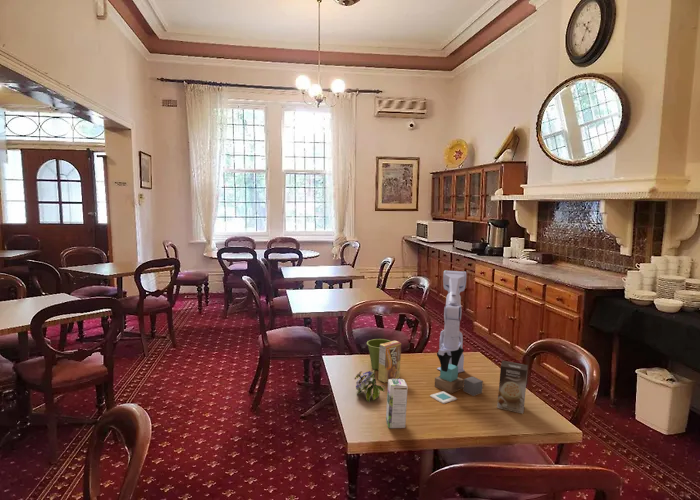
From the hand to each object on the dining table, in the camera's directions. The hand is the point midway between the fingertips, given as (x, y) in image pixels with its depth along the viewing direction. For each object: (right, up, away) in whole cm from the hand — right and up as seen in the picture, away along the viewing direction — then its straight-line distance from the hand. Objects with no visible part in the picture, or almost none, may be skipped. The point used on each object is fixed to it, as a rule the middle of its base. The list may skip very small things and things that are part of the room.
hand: (449, 368), depth 174 cm
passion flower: (-32, -8, -8) cm, 35 cm away
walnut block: (0, -8, +1) cm, 8 cm away
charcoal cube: (+8, -9, -3) cm, 12 cm away
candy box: (-23, -7, +7) cm, 25 cm away
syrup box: (-25, -11, -29) cm, 40 cm away
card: (-4, -9, -9) cm, 13 cm away
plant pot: (-27, -5, +19) cm, 33 cm away
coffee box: (+19, -10, -15) cm, 26 cm away
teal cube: (0, -4, +1) cm, 4 cm away
